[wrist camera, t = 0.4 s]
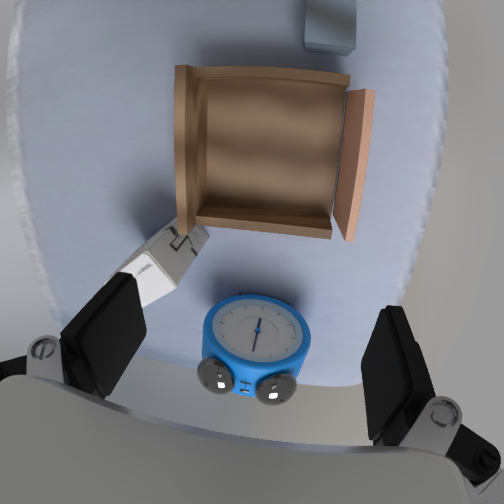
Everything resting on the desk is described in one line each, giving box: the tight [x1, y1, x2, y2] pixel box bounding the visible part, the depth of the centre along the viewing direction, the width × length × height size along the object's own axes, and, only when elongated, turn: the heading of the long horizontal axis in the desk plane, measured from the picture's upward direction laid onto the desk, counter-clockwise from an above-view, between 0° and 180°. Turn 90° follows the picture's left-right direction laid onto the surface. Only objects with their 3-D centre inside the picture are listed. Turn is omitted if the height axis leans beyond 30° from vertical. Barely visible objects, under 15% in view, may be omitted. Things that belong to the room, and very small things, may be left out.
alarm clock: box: [197, 293, 311, 406], centre depth 36 cm, size 13×6×15 cm, turn 82°
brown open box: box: [174, 65, 350, 239], centre depth 28 cm, size 16×15×8 cm
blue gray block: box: [304, 0, 356, 56], centre depth 22 cm, size 7×5×5 cm, turn 178°
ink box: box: [103, 217, 209, 308], centre depth 34 cm, size 9×5×12 cm, turn 126°
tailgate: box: [333, 89, 375, 242], centre depth 26 cm, size 13×1×7 cm, turn 178°
